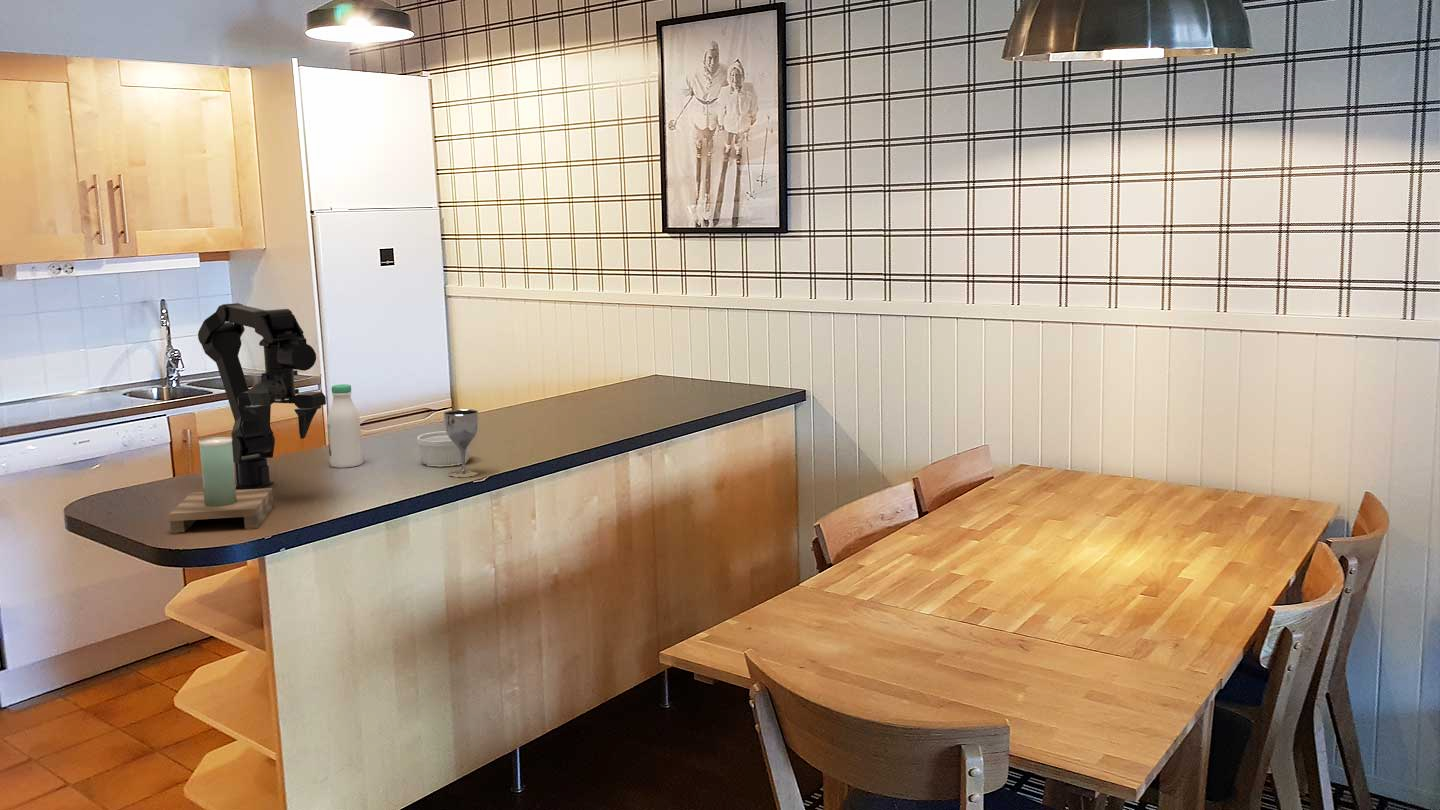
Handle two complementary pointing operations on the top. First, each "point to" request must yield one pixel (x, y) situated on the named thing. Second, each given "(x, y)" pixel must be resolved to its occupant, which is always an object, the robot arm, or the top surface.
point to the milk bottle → (344, 429)
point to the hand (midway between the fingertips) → (284, 437)
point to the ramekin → (439, 449)
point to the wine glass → (461, 430)
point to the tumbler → (218, 471)
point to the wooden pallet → (223, 509)
